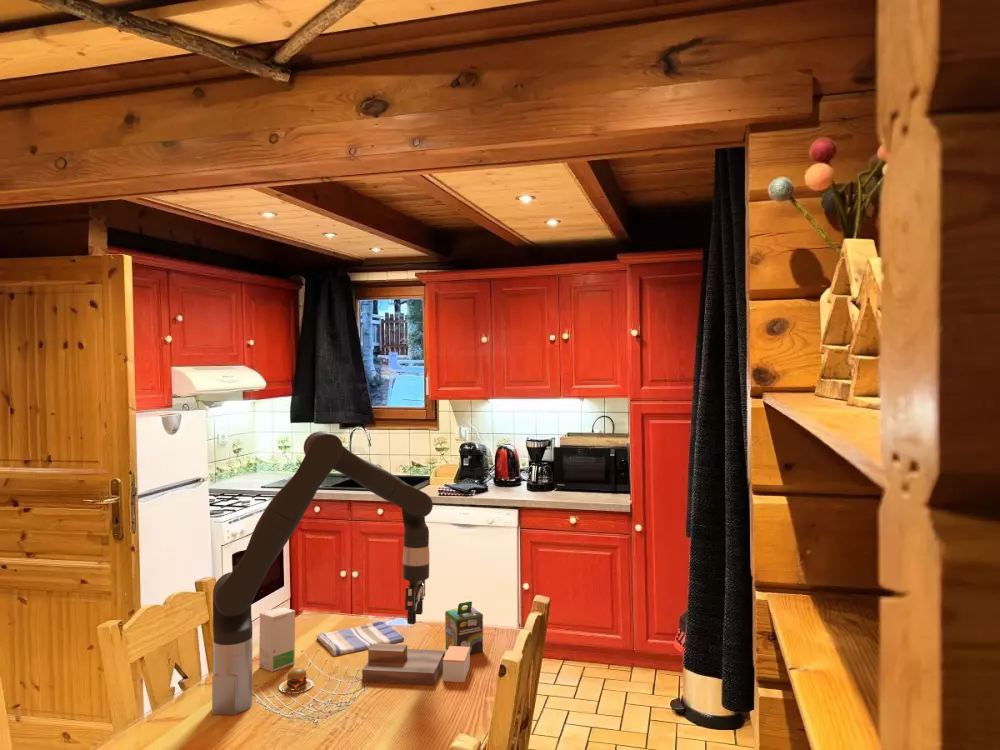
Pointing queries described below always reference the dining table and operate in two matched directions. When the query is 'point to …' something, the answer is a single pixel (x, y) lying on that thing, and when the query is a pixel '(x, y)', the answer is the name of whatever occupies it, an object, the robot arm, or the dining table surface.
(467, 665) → the brick
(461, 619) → the chalk box
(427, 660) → the step stand
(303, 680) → the hamburger
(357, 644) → the dish towel
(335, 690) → the dining table surface
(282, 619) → the skincare box
